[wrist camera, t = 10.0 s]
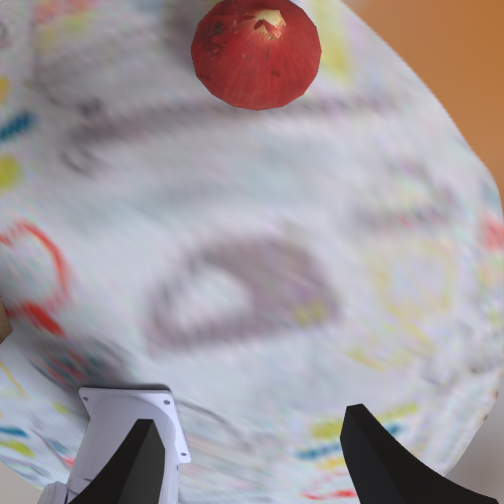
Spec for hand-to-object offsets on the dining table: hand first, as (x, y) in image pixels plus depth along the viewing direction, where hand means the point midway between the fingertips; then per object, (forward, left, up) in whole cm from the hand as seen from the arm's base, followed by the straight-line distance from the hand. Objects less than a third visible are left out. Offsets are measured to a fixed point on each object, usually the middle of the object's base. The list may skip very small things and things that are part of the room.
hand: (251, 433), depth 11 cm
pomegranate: (+14, -1, -11) cm, 18 cm away
